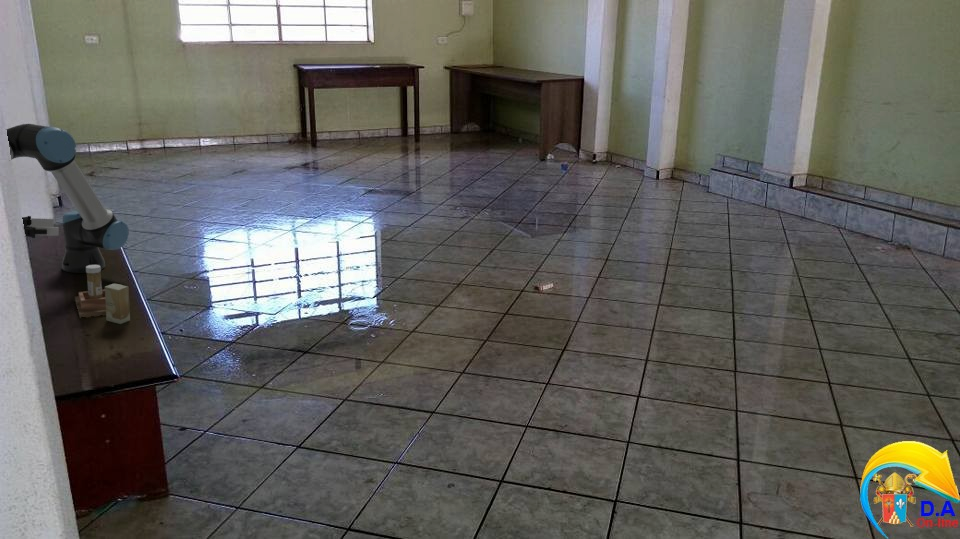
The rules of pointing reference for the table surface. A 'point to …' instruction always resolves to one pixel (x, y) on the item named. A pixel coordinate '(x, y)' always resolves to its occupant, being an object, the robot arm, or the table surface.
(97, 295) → the sprinkles bottle
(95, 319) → the table surface
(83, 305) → the collar plate
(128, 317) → the skincare box
